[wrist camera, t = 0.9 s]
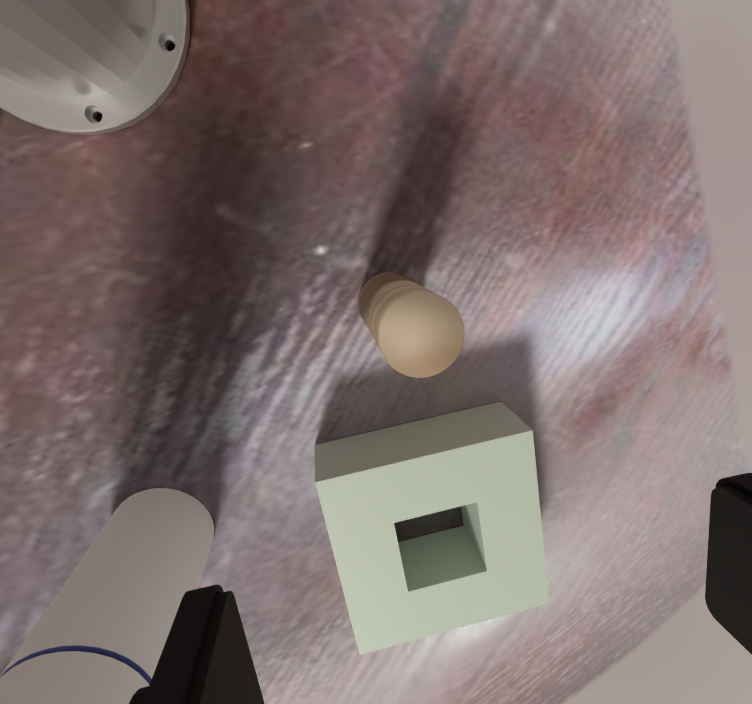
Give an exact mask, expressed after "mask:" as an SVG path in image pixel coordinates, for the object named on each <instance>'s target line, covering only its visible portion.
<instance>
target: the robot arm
mask: <svg viewBox="0 0 752 704" xmlns="http://www.w3.org/2000/svg"><path fill="white" fill-rule="evenodd" d="M189 39H190V9H189V4H188V0H0V108H2V109H4V110H6V111H8V112H9V113H11V114H13V115H15V116H17V117H18V118H20V119H22V120H25V121H27V122H30V123H33V124H35V125H38V126H40V127H43V128H47V129H51V130H54V131H58V132H62V133H66V134H79V135H96V134H104V133H112V132H115V131H118V130H121V129H124V128H127V127H130V126H132V125H134V124H136V123H137V122H139V121H140V120H142V119H144V118H145V117H147V116H149V115H150V114H151V113H152V112H153V111H154V110H155V109H156V108H157V107H158V106H159V105H161V104H162V103H163V102H164V101H165V100H166V98H167V97H168V95H169V94H170V92H171V90H172V89H173V87H174V86H175V84H176V83H177V81H178V79H179V76H180V74H181V71H182V68H183V66H184V63H185V61H186V56H187V50H188V45H189ZM171 43H172V44H175V48H174V50H172V51H168V45H169V44H171ZM99 113H102V119H101V121H100V122H98V121H97V115H98V114H99ZM705 600H706V604H707V607H708V609H709V611H710V613H711V614H712V615H713V617H714V618H715V619H716V620H717V621H718V622H719V623H720V624H721V625H722V626H723V627H724V628H725V629H726V630H727V631H728V632H729V633H730V634H731V635H732V636H733V637H734V638H735V639H736V640H737V641H738V642H739V643H740V644H741V645H742V646H744V647H745V649H747V650H748V651H749V652H750V653H751V654H752V473H746V474H741V475H736V476H732V477H727V478H723V479H720V480H719V481H718V482H717V484H716V488H715V489H714V490H713V491H712V494H711V505H710V523H709V540H708V557H707V575H706V592H705ZM129 704H264V701H263V697H262V693H261V690H260V686H259V682H258V679H257V675H256V672H255V668H254V665H253V661H252V658H251V654H250V650H249V647H248V643H247V640H246V636H245V633H244V629H243V625H242V622H241V618H240V615H239V611H238V608H237V604H236V601H235V597H234V594H233V592H232V591H227V592H223V589H222V587H221V586H220V585H213V586H209V587H204V588H199V589H194V590H190V591H187V592H186V593H185V594H184V596H183V598H182V600H181V603H180V605H179V608H178V611H177V613H176V616H175V619H174V621H173V624H172V627H171V629H170V632H169V635H168V637H167V640H166V642H165V645H164V648H163V650H162V653H161V656H160V658H159V661H158V664H157V666H156V669H155V672H154V674H153V677H152V680H151V682H150V685H149V686H147V687H143V688H140V689H138V690H137V691H136V693H135V694H134V695H133V696H132V698H131V700H130V702H129Z"/></svg>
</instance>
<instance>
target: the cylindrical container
mask: <svg viewBox="0 0 752 704" xmlns="http://www.w3.org/2000/svg"><path fill="white" fill-rule="evenodd" d="M213 539H214V524H213V520H212V518H211V515H210V513H209V512H208V510H207V509H206V508H205V506H204V505H203V504H202V503H201V502H199V501H198V500H197V499H196V498H194V497H192V496H191V495H189V494H187V493H184V492H181V491H179V490H174V489H169V488H153V489H147V490H144V491H141V492H137V493H135V494H134V495H132V496H130V497H128V498H127V499H126V500H124V501H123V502H122V503H121V504H120V505H119V506H118V508H117V509H116V510H115V511H114V513H113V514H112V516H111V517H110V519H109V520H108V522H107V523H106V524H105V526H104V527H103V529H102V530H101V532H100V533H99V535H98V536H97V537H96V539H95V540H94V542H93V543H92V545H91V546H90V548H89V549H88V550H87V552H86V553H85V555H84V556H83V558H82V559H81V561H80V562H79V563H78V565H77V566H76V568H75V569H74V571H73V572H72V574H71V575H70V576H69V578H68V579H67V581H66V582H65V584H64V585H63V586H62V588H61V589H60V591H59V592H58V594H57V595H56V597H55V598H54V599H53V601H52V602H51V604H50V605H49V607H48V608H47V609H46V611H45V612H44V614H43V615H42V617H41V618H40V620H39V621H38V622H37V624H36V625H35V627H34V628H33V630H32V631H31V632H30V634H29V635H28V637H27V638H26V640H25V641H24V643H23V644H22V645H21V647H20V648H19V650H18V651H17V653H16V654H15V655H14V657H13V658H12V660H11V661H10V663H9V664H8V666H7V667H6V668H5V670H4V671H3V673H2V674H1V676H0V704H129V702H130V700H131V698H132V696H133V695H134V694H135V693H136V691H137V690H138V689H140V688H143V687H147V686H149V685H150V682H151V680H152V677H153V674H154V672H155V669H156V666H157V664H158V661H159V658H160V656H161V653H162V650H163V648H164V645H165V642H166V640H167V637H168V635H169V632H170V629H171V627H172V624H173V621H174V619H175V616H176V613H177V611H178V608H179V605H180V603H181V600H182V598H183V596H184V594H185V593H186V592H187V591H190V590H194V589H198V588H199V585H200V581H201V578H202V575H203V572H204V569H205V566H206V562H207V559H208V556H209V553H210V550H211V546H212V543H213Z"/></svg>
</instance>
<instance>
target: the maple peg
mask: <svg viewBox="0 0 752 704" xmlns="http://www.w3.org/2000/svg"><path fill="white" fill-rule="evenodd" d="M358 307H359V311H360V314H361V316H362V318H363V320H364V322H365V323H366V325H367V327H368V329H369V331H370V332H371V334H372V336H373V338H374V340H375V341H376V343H377V345H378V347H379V349H380V350H381V352H382V354H383V356H384V357H385V359H386V361H387V362H388V363H389V365H390V366H391V367H392V368H393V369H395V370H396V371H398V372H399V373H401V374H403V375H406V376H409V377H415V378H425V377H430V376H433V375H436V374H438V373H440V372H442V371H444V370H445V369H447V368H448V367H449V366H450V365H451V364H452V363H453V362H454V361H455V359H456V358H457V357H458V355H459V353H460V351H461V349H462V346H463V342H464V324H463V321H462V318H461V315H460V314H459V312H458V310H457V309H456V308H455V306H454V305H453V304H452V303H450V302H449V301H448V300H446V299H445V298H443V297H441V296H439V295H437V294H436V293H434V292H432V291H430V290H428V289H426V288H424V287H422V286H421V285H419V284H417V283H415V282H413V281H411V280H409V279H408V278H406V277H404V276H402V275H400V274H397V273H393V272H384V273H380V274H377V275H375V276H373V277H371V278H370V279H369V280H368V281H367V282H366V283H365V284H364V285H363V287H362V289H361V291H360V294H359V298H358Z"/></svg>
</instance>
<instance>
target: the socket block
mask: <svg viewBox="0 0 752 704" xmlns="http://www.w3.org/2000/svg"><path fill="white" fill-rule="evenodd" d="M315 483H316V487H317V491H318V495H319V499H320V503H321V507H322V510H323V514H324V518H325V522H326V526H327V530H328V534H329V538H330V542H331V545H332V549H333V553H334V557H335V561H336V565H337V569H338V573H339V577H340V580H341V584H342V588H343V592H344V596H345V600H346V604H347V608H348V612H349V615H350V619H351V623H352V627H353V631H354V635H355V639H356V643H357V647H358V650H359V654H360V655H361V654H364V653H368V652H372V651H375V650H379V649H383V648H386V647H390V646H394V645H397V644H401V643H405V642H408V641H412V640H416V639H420V638H423V637H427V636H431V635H434V634H438V633H442V632H445V631H449V630H453V629H456V628H460V627H464V626H467V625H471V624H475V623H478V622H482V621H486V620H489V619H493V618H497V617H500V616H504V615H508V614H511V613H515V612H519V611H522V610H526V609H530V608H533V607H537V606H541V605H544V604H548V603H549V597H548V586H547V576H546V565H545V555H544V544H543V534H542V523H541V512H540V502H539V491H538V481H537V470H536V460H535V449H534V438H533V430H532V429H531V428H530V427H529V426H528V425H526V424H525V423H524V422H523V421H522V420H521V419H520V418H519V417H518V416H517V415H516V414H515V413H513V412H512V411H511V410H510V409H509V408H508V407H507V406H506V405H505V404H504V403H503V402H501V401H500V402H496V403H492V404H488V405H483V406H479V407H475V408H470V409H466V410H462V411H457V412H453V413H449V414H445V415H440V416H436V417H432V418H427V419H423V420H419V421H415V422H410V423H406V424H402V425H397V426H393V427H389V428H384V429H380V430H376V431H372V432H367V433H363V434H359V435H354V436H350V437H346V438H341V439H337V440H333V441H329V442H324V443H320V444H316V445H315ZM460 506H461V511H462V517H463V524H464V526H460V527H456V528H452V529H448V530H444V531H440V532H436V533H432V534H428V535H424V536H420V537H416V538H412V539H408V540H404V541H400V542H398V540H397V535H396V530H395V525H394V523H396V522H400V521H404V520H408V519H412V518H416V517H420V516H424V515H428V514H432V513H436V512H440V511H444V510H448V509H452V508H456V507H460Z"/></svg>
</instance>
